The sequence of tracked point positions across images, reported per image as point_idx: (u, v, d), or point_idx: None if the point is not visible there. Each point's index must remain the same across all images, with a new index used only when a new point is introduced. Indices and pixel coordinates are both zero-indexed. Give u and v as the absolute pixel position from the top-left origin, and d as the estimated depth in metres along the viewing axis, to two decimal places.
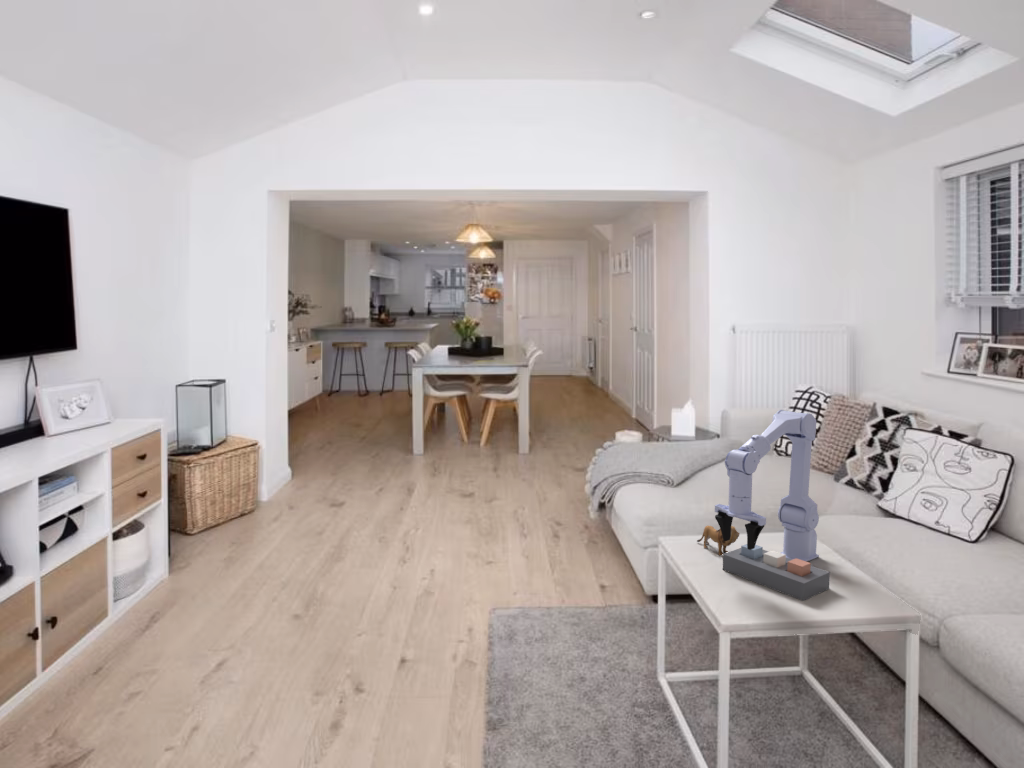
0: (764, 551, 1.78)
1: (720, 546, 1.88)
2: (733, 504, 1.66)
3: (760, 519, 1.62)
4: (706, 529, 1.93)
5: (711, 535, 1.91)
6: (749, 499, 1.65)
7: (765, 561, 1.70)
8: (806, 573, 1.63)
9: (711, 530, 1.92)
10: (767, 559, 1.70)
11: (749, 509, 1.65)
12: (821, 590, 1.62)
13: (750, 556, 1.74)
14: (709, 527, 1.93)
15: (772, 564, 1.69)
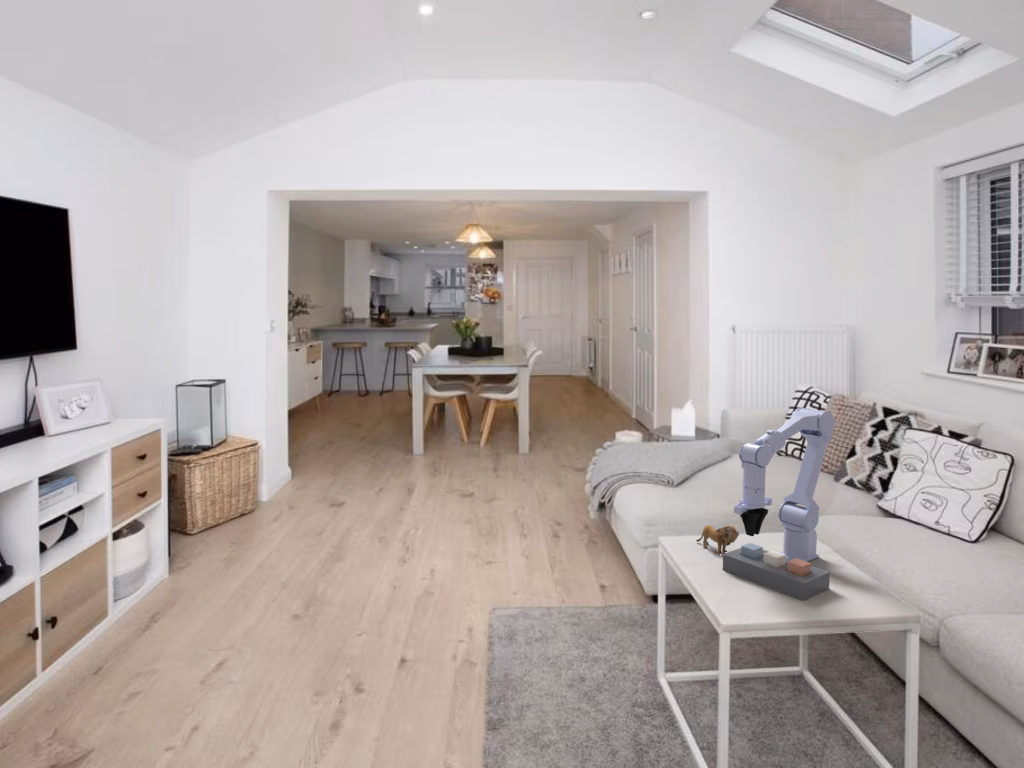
0: (764, 551, 1.78)
1: (720, 546, 1.88)
2: None
3: None
4: (705, 529, 1.93)
5: (710, 535, 1.91)
6: (747, 490, 1.72)
7: (765, 561, 1.70)
8: (806, 573, 1.63)
9: (710, 530, 1.92)
10: (767, 559, 1.70)
11: (748, 500, 1.72)
12: (821, 590, 1.62)
13: (750, 556, 1.74)
14: (708, 527, 1.93)
15: (772, 564, 1.69)
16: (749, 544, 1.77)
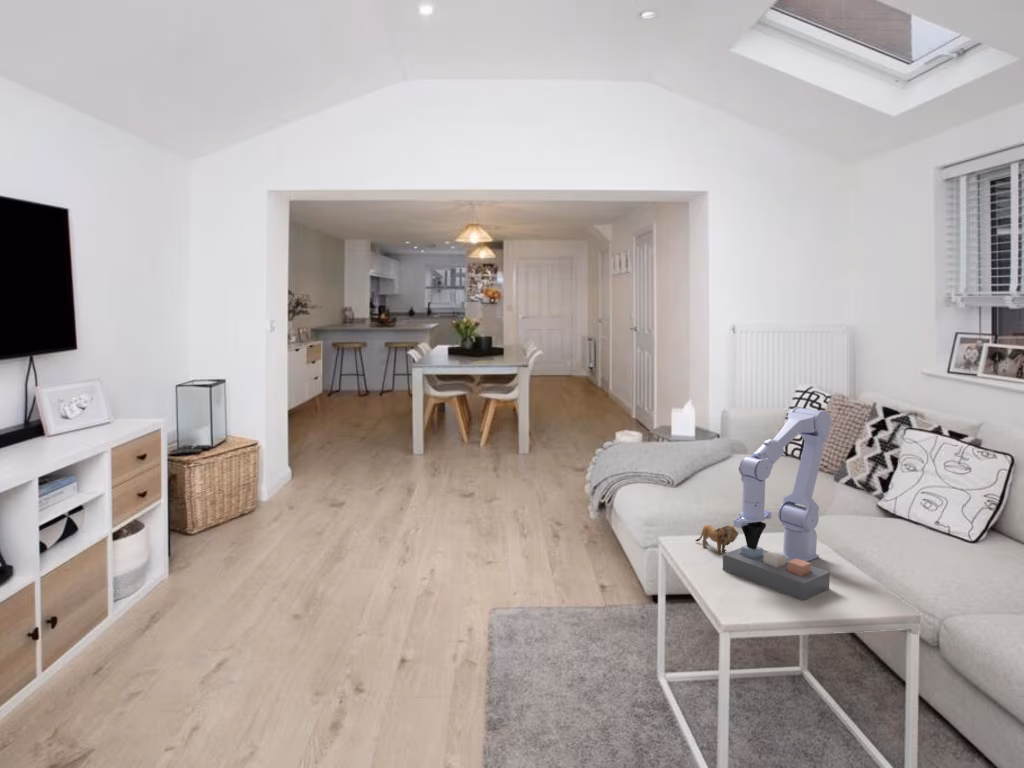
0: (764, 551, 1.78)
1: (719, 545, 1.88)
2: None
3: None
4: (705, 528, 1.94)
5: (710, 534, 1.91)
6: (747, 504, 1.73)
7: (765, 561, 1.70)
8: (806, 573, 1.63)
9: (710, 529, 1.92)
10: (767, 559, 1.70)
11: (747, 513, 1.73)
12: (821, 590, 1.62)
13: (750, 557, 1.74)
14: (708, 526, 1.93)
15: (772, 564, 1.69)
16: None
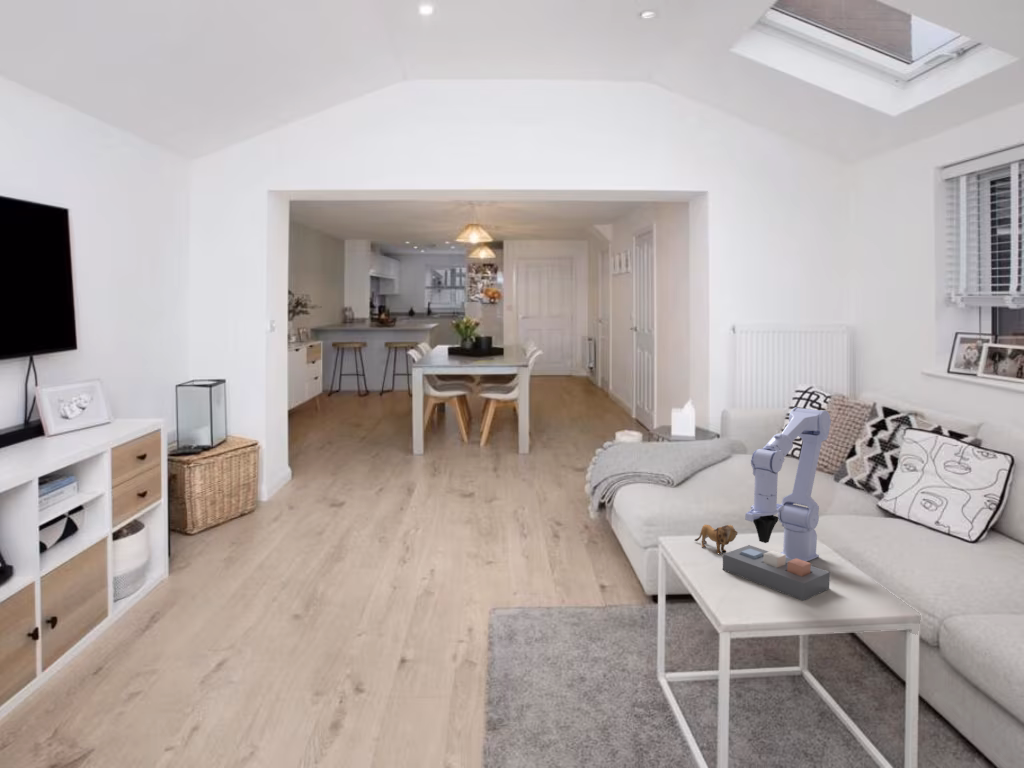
0: (764, 551, 1.78)
1: (718, 545, 1.89)
2: None
3: None
4: (704, 528, 1.94)
5: (709, 534, 1.92)
6: (759, 497, 1.69)
7: (765, 561, 1.70)
8: (806, 573, 1.63)
9: (709, 529, 1.92)
10: (767, 559, 1.70)
11: (759, 507, 1.70)
12: (821, 590, 1.62)
13: None
14: (707, 526, 1.94)
15: (772, 564, 1.69)
16: (749, 549, 1.78)
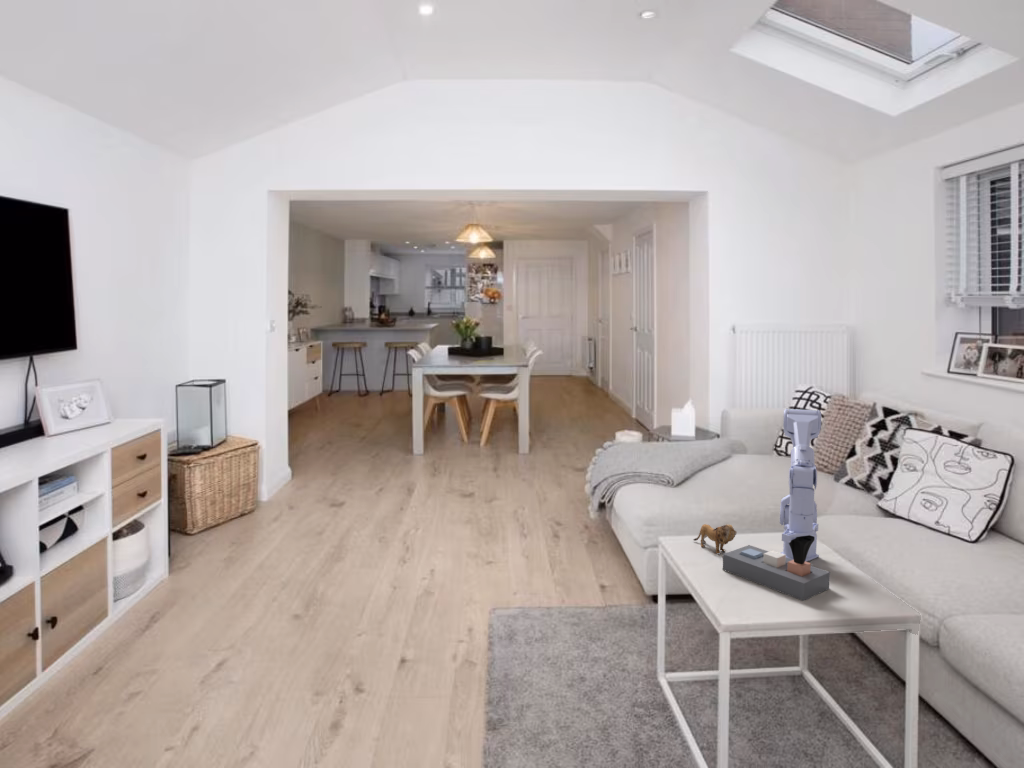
0: (764, 551, 1.78)
1: (717, 544, 1.89)
2: None
3: None
4: (703, 528, 1.94)
5: (708, 534, 1.92)
6: (795, 516, 1.61)
7: (765, 561, 1.70)
8: (806, 573, 1.63)
9: (708, 529, 1.93)
10: (767, 559, 1.70)
11: (795, 526, 1.61)
12: (821, 590, 1.62)
13: None
14: (706, 526, 1.94)
15: (772, 564, 1.69)
16: (749, 549, 1.78)
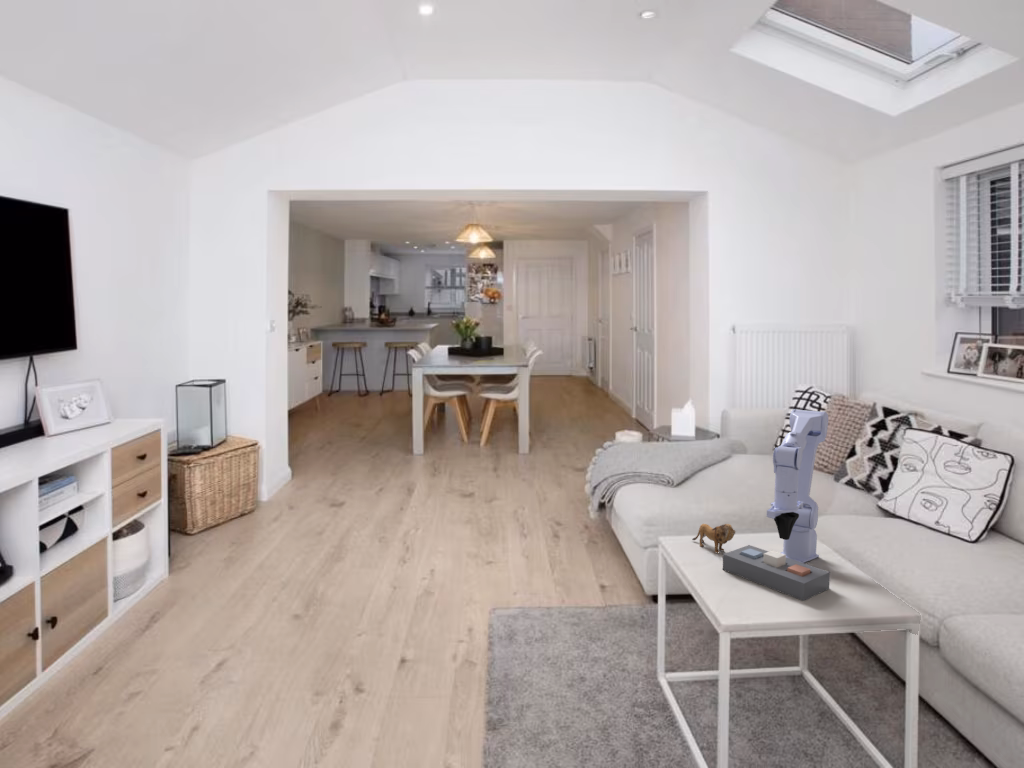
0: (764, 551, 1.78)
1: (716, 544, 1.89)
2: None
3: None
4: (702, 527, 1.95)
5: (707, 533, 1.93)
6: (780, 494, 1.69)
7: (765, 561, 1.70)
8: None
9: (707, 528, 1.93)
10: (767, 559, 1.70)
11: (780, 504, 1.69)
12: (821, 590, 1.62)
13: None
14: (705, 525, 1.95)
15: (772, 564, 1.69)
16: (749, 549, 1.78)
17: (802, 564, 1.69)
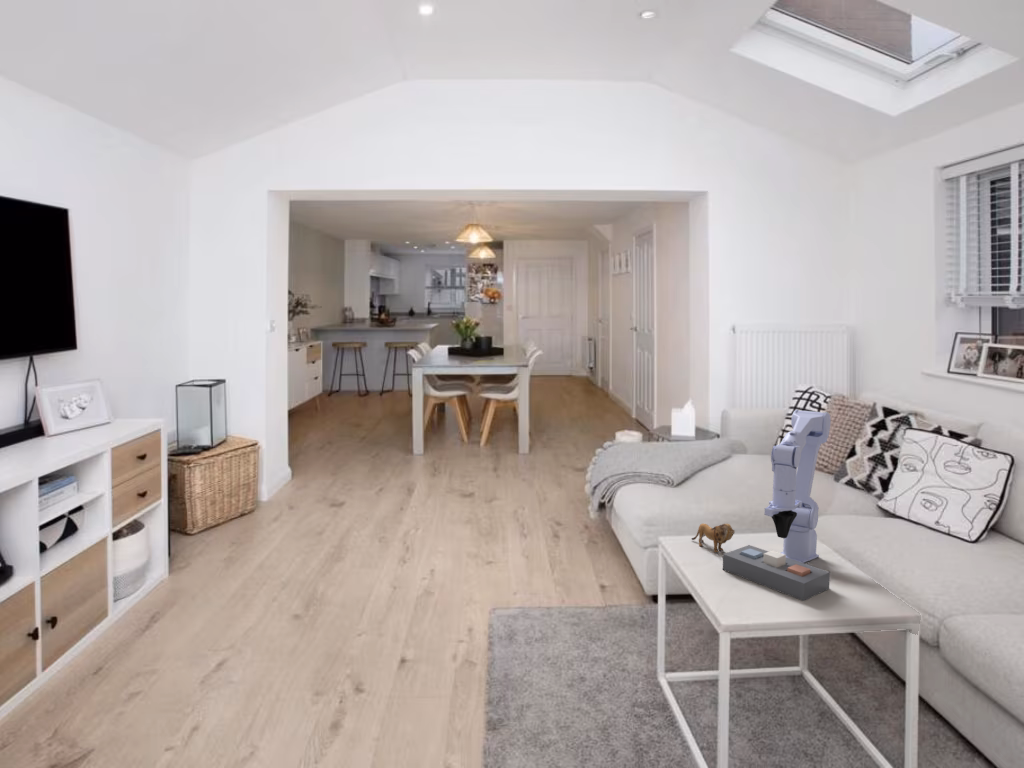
0: (764, 551, 1.78)
1: (716, 544, 1.90)
2: None
3: None
4: (701, 527, 1.95)
5: (706, 533, 1.93)
6: (778, 492, 1.70)
7: (765, 561, 1.70)
8: None
9: (706, 528, 1.93)
10: (767, 559, 1.70)
11: (778, 502, 1.70)
12: (821, 590, 1.62)
13: None
14: (704, 525, 1.95)
15: (772, 564, 1.69)
16: (749, 549, 1.78)
17: (802, 564, 1.69)
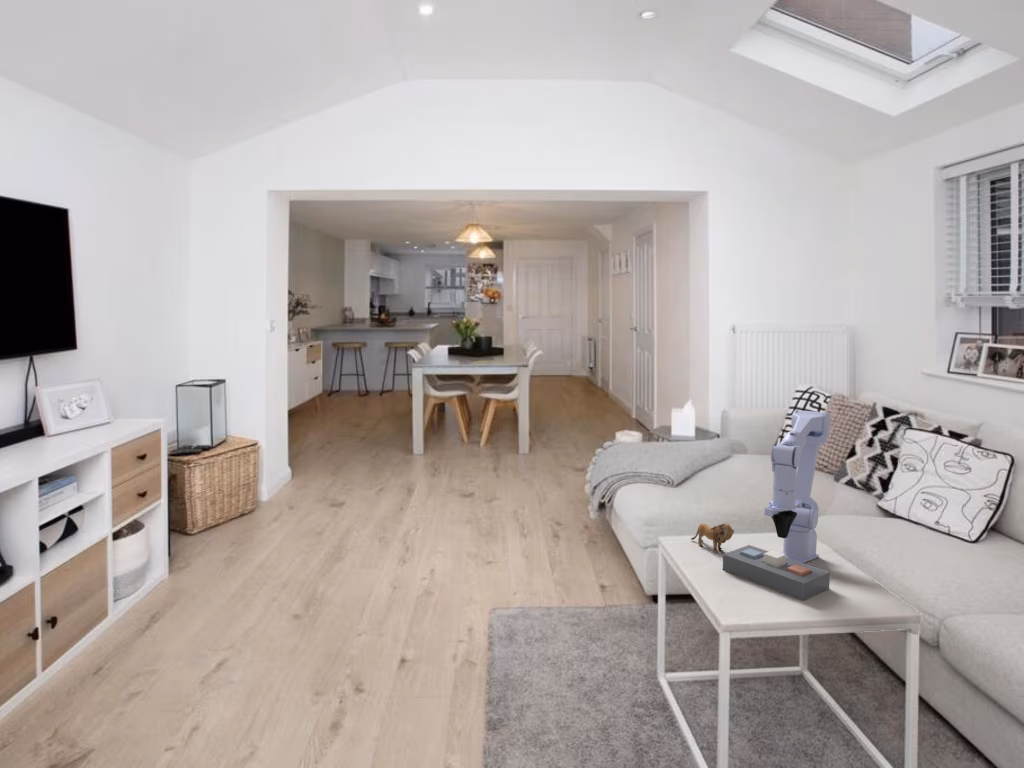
0: (764, 551, 1.78)
1: (715, 543, 1.90)
2: None
3: None
4: (701, 527, 1.95)
5: (706, 533, 1.93)
6: (778, 492, 1.70)
7: (765, 561, 1.70)
8: None
9: (706, 528, 1.94)
10: (767, 559, 1.70)
11: (778, 502, 1.70)
12: (821, 590, 1.62)
13: None
14: (703, 525, 1.95)
15: (772, 564, 1.69)
16: (749, 549, 1.78)
17: (802, 564, 1.69)
